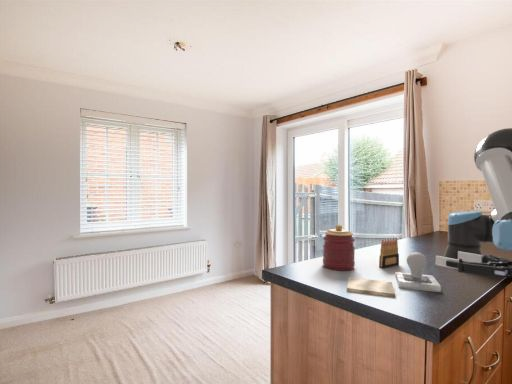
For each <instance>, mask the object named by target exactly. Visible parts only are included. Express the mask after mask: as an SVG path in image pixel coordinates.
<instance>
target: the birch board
mask: <svg viewBox="0 0 512 384" xmlns="http://www.w3.org/2000/svg"><path fill="white" fill-rule="evenodd" d="M346 292H350V293H351V292H352V293H359V294H360V293H361V294H369V295H375V296H383V297H391V298H396V292H395V289H394V285H393V281H387V280H379V279H377V280H376V279H369V278H368V279H367V278H358V277H350V276H349V277H348V279H347V286H346Z"/></svg>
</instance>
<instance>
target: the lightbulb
mask: <svg viewBox="0 0 512 384" xmlns="http://www.w3.org/2000/svg"><path fill="white" fill-rule="evenodd" d="M406 264H407V265H408V267H409V269H410V273H411V276H412V280H411V281H414V282H421V277H422V275H423V272H424V270H425V268H426V267H427V264H428V260H427V257H426V256H425V255H424V254H423V253H421V252H418V251H417V252H416V251H415V252H411V253H409V254H408V256H407V258H406Z"/></svg>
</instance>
